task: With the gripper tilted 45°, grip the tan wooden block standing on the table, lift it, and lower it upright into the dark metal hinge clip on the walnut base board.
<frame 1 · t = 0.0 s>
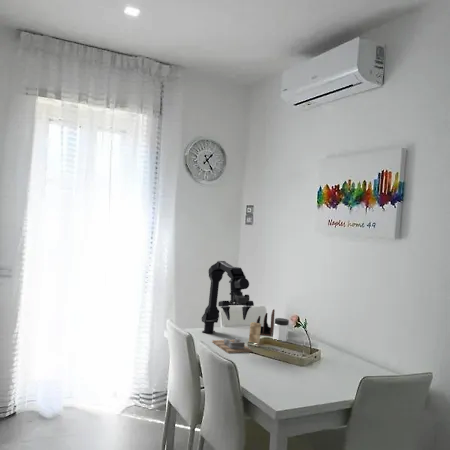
hand: (236, 320, 258), 15 cm above the table, tool pointing down, fingers open, 9 cm apart
tan wooden block: (253, 345, 268), on the table
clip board: (233, 348, 259), on the table
letter holder: (264, 332, 303), on the table
jar: (280, 339, 287), on the table
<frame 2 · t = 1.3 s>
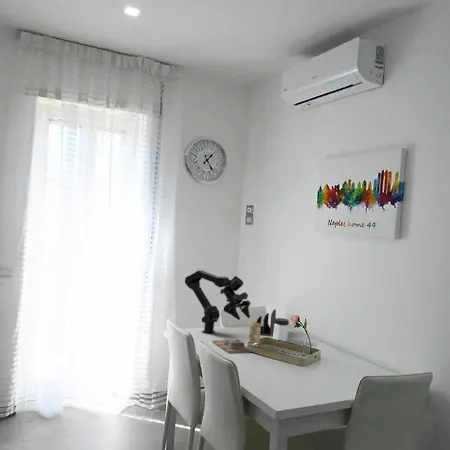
hand: (244, 318, 273), 13 cm above the table, tool tilted 45°, fingers open, 9 cm apart
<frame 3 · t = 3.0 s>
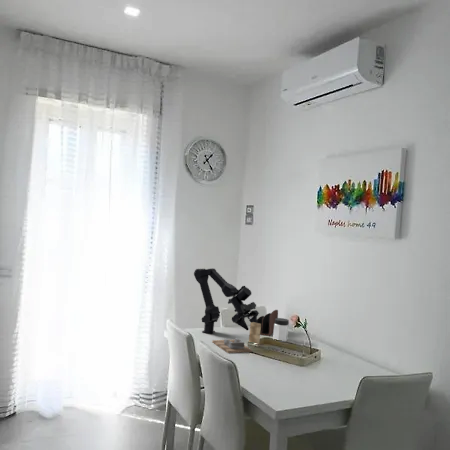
hand: (253, 328, 269), 9 cm above the table, tool tilted 45°, fingers open, 9 cm apart
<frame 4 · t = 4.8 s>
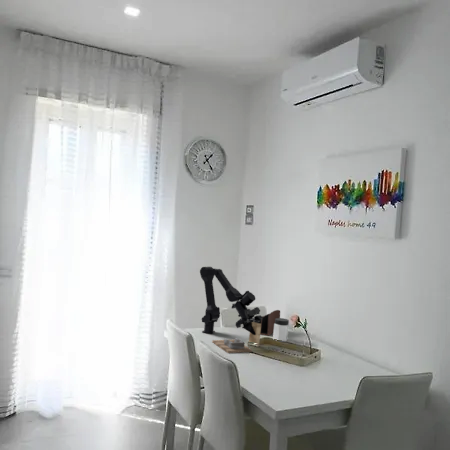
hand: (256, 334, 267), 7 cm above the table, tool tilted 45°, fingers closed on tan wooden block, 3 cm apart
tan wooden block: (253, 345, 268), on the table, touching gripper
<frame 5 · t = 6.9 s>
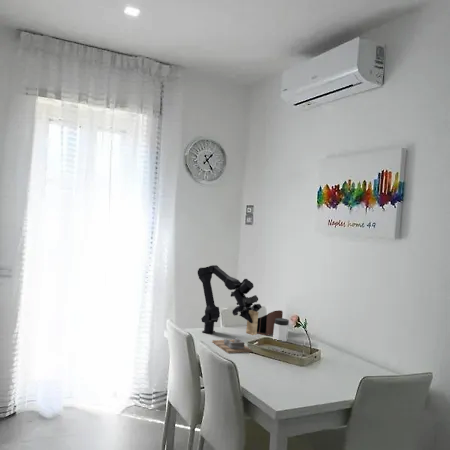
hand: (254, 322, 265), 14 cm above the table, tool tilted 45°, fingers closed on tan wooden block, 3 cm apart
tan wooden block: (251, 333, 266), point 7 cm above the table, touching gripper
when the fingers open (9 cm above the table, at t = 9.1 s): tan wooden block drops 1 cm, resting on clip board.
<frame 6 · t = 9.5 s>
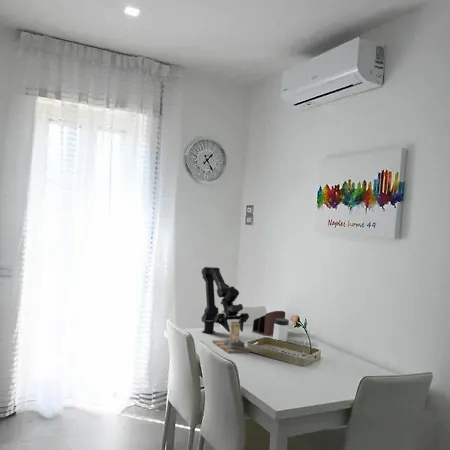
hand: (235, 331, 258), 9 cm above the table, tool tilted 45°, fingers open, 7 cm apart
tan wooden block: (233, 345, 259), point 1 cm above the table, touching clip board
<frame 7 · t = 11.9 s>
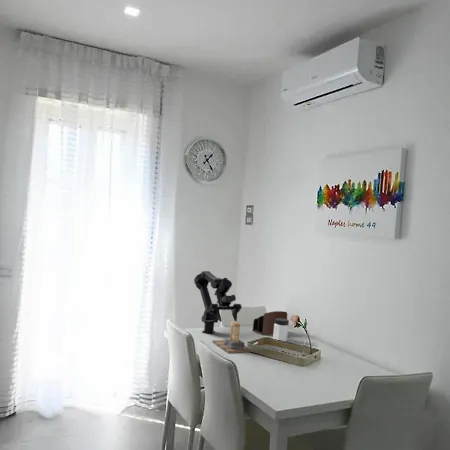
hand: (228, 321, 267), 13 cm above the table, tool tilted 45°, fingers open, 9 cm apart
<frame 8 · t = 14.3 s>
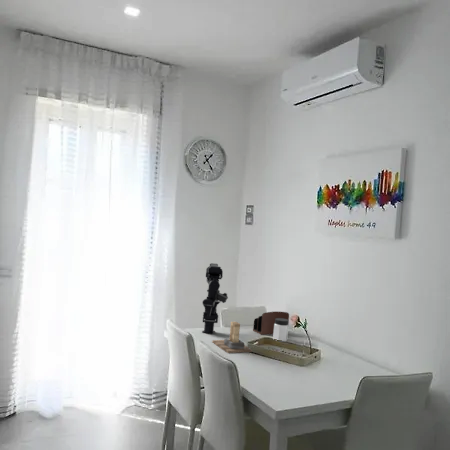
hand: (211, 315, 277), 13 cm above the table, tool pointing down, fingers open, 9 cm apart
at the end: tan wooden block 0.1 cm off-centre on the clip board, point 1.2 cm above the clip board's base; tan wooden block tilted 0°; the gripper is holding nothing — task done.
